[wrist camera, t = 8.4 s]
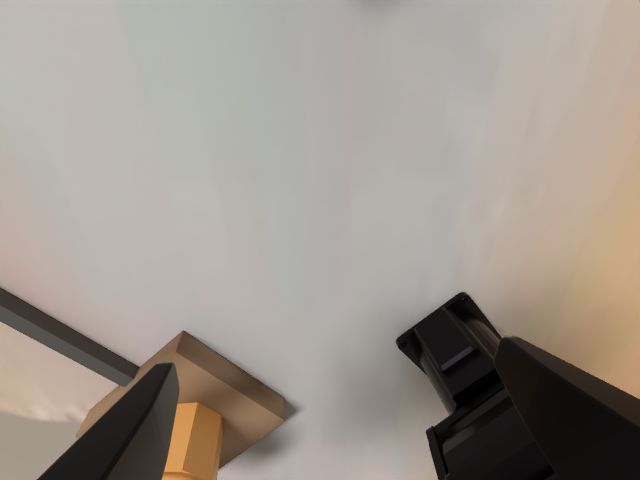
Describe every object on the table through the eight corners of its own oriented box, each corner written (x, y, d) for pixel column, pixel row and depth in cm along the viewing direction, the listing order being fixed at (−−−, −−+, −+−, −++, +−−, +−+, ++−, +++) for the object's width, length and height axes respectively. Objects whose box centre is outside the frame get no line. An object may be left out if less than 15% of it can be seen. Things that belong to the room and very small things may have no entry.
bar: (139, 367, 23) (134, 379, 22) (129, 375, 23) (124, 387, 22) (-136, 210, 16) (-160, 217, 15) (-147, 222, 16) (-170, 230, 16)
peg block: (284, 397, 26) (288, 478, 21) (198, 462, 28) (180, 551, 22) (183, 330, 22) (155, 408, 17) (89, 410, 24) (36, 504, 18)
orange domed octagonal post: (236, 424, 24) (229, 502, 19) (190, 459, 24) (172, 542, 20) (180, 392, 22) (157, 471, 17) (132, 432, 22) (97, 517, 18)
